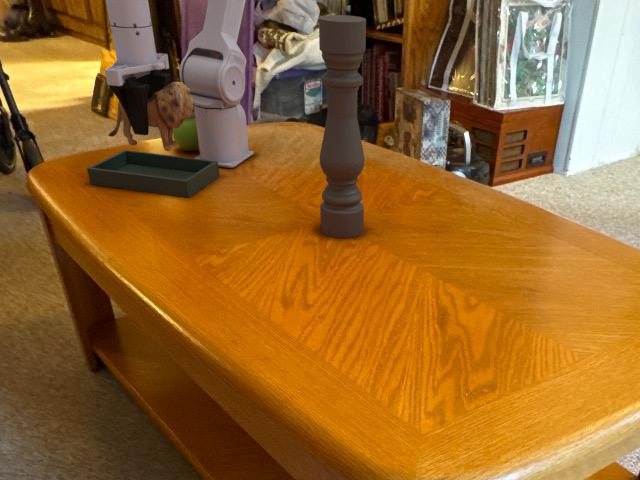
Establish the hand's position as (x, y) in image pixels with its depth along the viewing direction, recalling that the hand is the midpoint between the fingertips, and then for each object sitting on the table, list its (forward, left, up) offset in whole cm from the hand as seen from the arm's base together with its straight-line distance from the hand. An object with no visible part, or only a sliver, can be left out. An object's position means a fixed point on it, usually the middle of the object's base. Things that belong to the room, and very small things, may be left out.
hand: (149, 130), depth 106 cm
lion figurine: (0, +1, -2) cm, 2 cm away
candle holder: (+10, +35, -8) cm, 37 cm away
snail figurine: (-17, -3, -8) cm, 19 cm away
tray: (0, 0, -7) cm, 7 cm away
